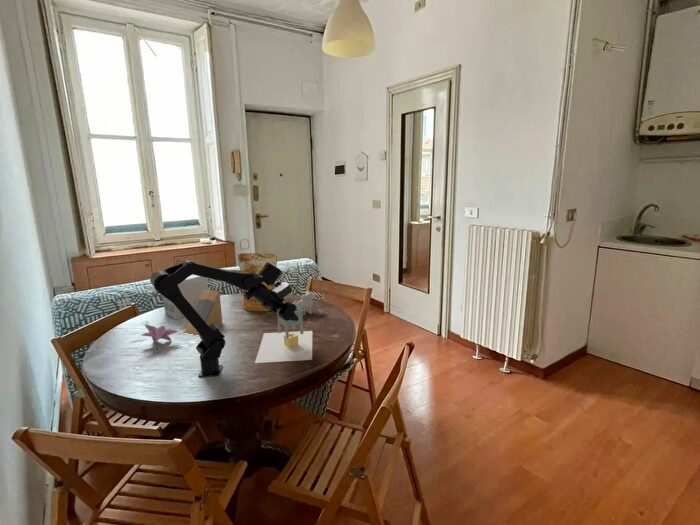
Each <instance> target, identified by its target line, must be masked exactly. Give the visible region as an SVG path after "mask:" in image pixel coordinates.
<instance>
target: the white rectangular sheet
mask: <svg viewBox="0 0 700 525" xmlns="http://www.w3.org/2000/svg"><path fill="white" fill-rule="evenodd" d="M288 332H289V333H295V334H296V335H298V344H299V345H298V346H295V347H292V348H288V347H287V346H285V345H284V335H286V331H281V333H278V332H265V333H263V335H262V338H261V342H260V345H259V349H258V352H257V355H256V357H255V361H254V364H264V363H277V362H278V363H279V362H280V363H281V362H296V361H297V362H298V361H311V360H313V330H303V334H300V330H297V331H288Z"/></svg>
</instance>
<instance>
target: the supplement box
mask: <svg viewBox="0 0 700 525" xmlns="http://www.w3.org/2000/svg"><path fill="white" fill-rule="evenodd" d="M178 287H179V289H180V291H181V293H182V295H183V296H184V297H185V299H186V300H187V301H188V302H189V303H190V305H191V306H192V307H193V308H194V309H196V307H197V304H198V302H199V300H200V298H201V296H202V293H203V291H204V290H209V284H208V278H206V277H201V276H197V275H191V276H189V277H188V278H186V279H185V280H184V281H183V282H181V283H180V284H178ZM162 300H163V308H164V314H165V315H167V316H169V317H170V318H172V319H175V320H179V319H182V318H185V316H184V315H183V314H182V313H181V312H180V311H179V310H178V308H177V307H176V306H175V305H174V304H173V303H172V302H171V301H170V300H168V299H167V298H165V297H164V296H163V295H162Z"/></svg>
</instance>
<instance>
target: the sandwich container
mask: <svg viewBox="0 0 700 525" xmlns="http://www.w3.org/2000/svg"><path fill="white" fill-rule="evenodd" d="M195 311H196V312H197V313H198V314H199V315H200V316H201V318H202V319H203V320H204V321H205V322H206V324H208V325H209V326H210V325H211V324H212V323H213V324H214V325H215V326H216V327H218V326H219V325H221V324H222V323H223V315H222V314H223V313H222V304H221V293H220V291H217V290H210V289H208V290H204V291H203V293H202V296H201V298H200V300H199V302H198V304H197V307H196V309H195ZM184 333H188V334H187V335H189V334H193V335H192V336H196V335H199V334H198V332H197V330H196V329H195V328H194V327H193V326H192V324H191V323H190V322H189V321H188V323H187V326H186V327H185V329H184V331H183V334H184Z"/></svg>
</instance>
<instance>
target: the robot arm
mask: <svg viewBox="0 0 700 525" xmlns="http://www.w3.org/2000/svg"><path fill="white" fill-rule="evenodd" d="M282 274H283V271H282V270H281V269H280V268H278V267H277V266H276V267H275V266H273V265H272V264H270V263H269V262H266V264H265V265H264V267H263V268H262V270H261V271H260V272H259V274H257V273H248V272H246V271H243V270H240V269H239V270H238V269H224V268H220V267H216V266H212V265H207V264H204V263H199V262H195V261H193V260H191V259H186V260H184V261H182V262H180V263H178V264H175V265H172V266H170V267H167V268H166V269H164V270H162V269H160V270H156V271H155V272H154V273H152V274H151V276H150V278H149V279H150V280H149V281H150V284H151V286H152V287H153V288H154V290H155V291H156V292H158V293H159V294H160V295H161V296H162V297H163V296H164V297H165V298H167V299H168V300H170V301H171V302H172V303H173V304H174V305H175V306H176V307H177V308H178V310H179V311H180V312H181V313H182V314H183V315H184V316H185V317H184V318H186V320H187V321H188V323H189V322H190V323H191V324H192V326H193V327H194V328H195V329H196V330H197V332H198V334H199V336H198V337H199V338H200V342H199V343H198V344H197V346H196V347H195V348H196V351H197V352H198V353H199V354H200V355H199V361H200V362H199V363H200V369H201V370H200V371H199V372H198V374H197V376H198V378H203V377H217V376H220V373H221V371H222V369H223V367H224V366H223V364H220V360H219V358H220V357H221V354H222V350H223V349H224V348H225V346H226V340H225V338H226V336H225V335H224V334H223V333H222V331H220V329H219V327H218V326H215V325H214V324H213V323H212V324H211V325H210V326H209V325H208V324H206V322H205V321H204V320H203V319H202V318H201V316H200V315H199V314H198V313H197V312H196V311H195V309H194V308H193V307H192V306H191V305H190V303H189V302H188V301H187V300H186V299H185V297H184V296H183V295H182V293H181V291H180V289H179V287H178V284H180V283H181V282H183V281H184V280H185V279H186V278H188V277H189V276H191V275H197V276H201V277H206V278H207V279H211V280H215V281H220V282H224V283H227V284H229V285H232V286H234V287H237V288H238V289H241V290H242V291H243V290H246V291H244V296H243V299H244V298H246V299H247V300H249V299H250V298H251V297H253V298H255V299H256V300H258V301H259V302H260V303H261V305H262V306H263V307H265V308H266V309H268V310H270V312H272V313H276V314H277V311H278V310H279V309H280V311H279V312H278V316H279V317H281V318H282V319H284V320H285V321H288V320H293V321H298V320H299V318H298V317H297V315H296V314H295V312H294V311H295V310H296V309H297V306H295V305H294V304H293V303H294V302H293V303H292V302H291V301H286V302H284V301H285V297H287V296H288V295H289V294H291V293H293V291H294V290H293V288H292V287H291V284H290V283H288V282H286V281H281V282H280V281H278V279H279V278H280V277H281V276H282ZM262 282H264V283H265V284H267V285H268V286H269V285H274V290H271V289H269V288H268V287H266V286H265V285H264V284H262Z"/></svg>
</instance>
